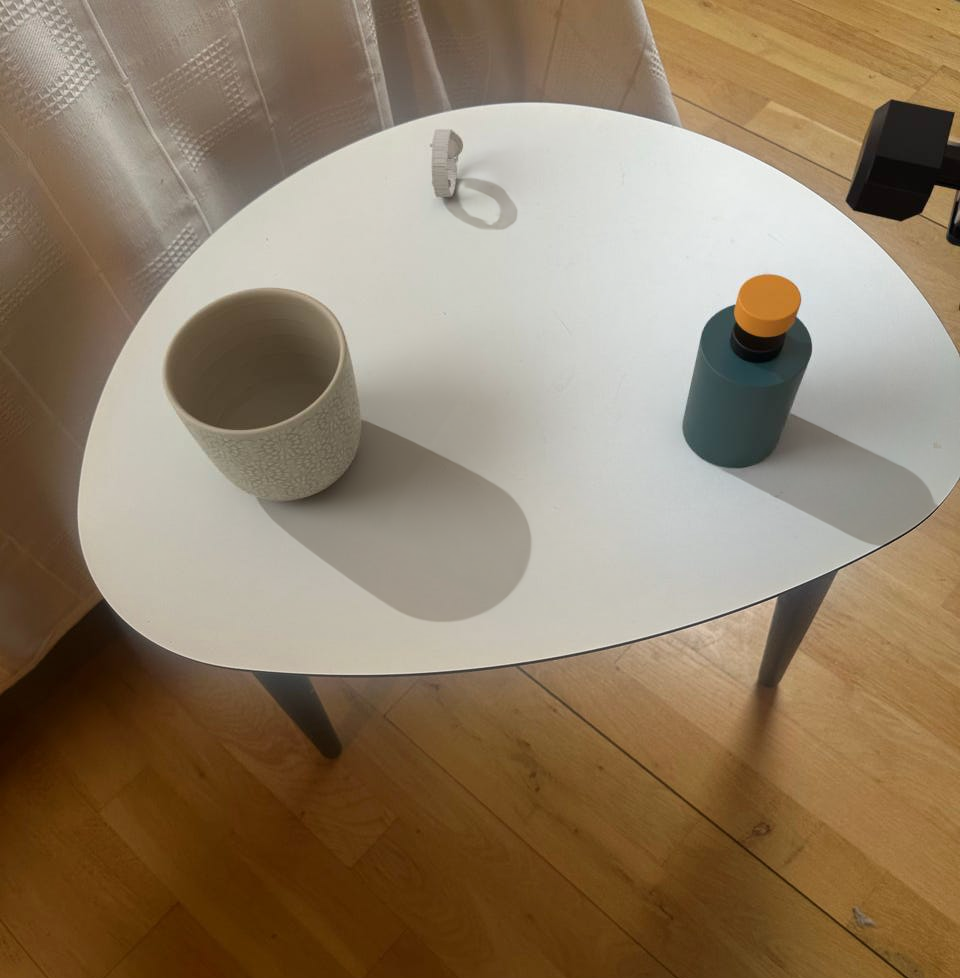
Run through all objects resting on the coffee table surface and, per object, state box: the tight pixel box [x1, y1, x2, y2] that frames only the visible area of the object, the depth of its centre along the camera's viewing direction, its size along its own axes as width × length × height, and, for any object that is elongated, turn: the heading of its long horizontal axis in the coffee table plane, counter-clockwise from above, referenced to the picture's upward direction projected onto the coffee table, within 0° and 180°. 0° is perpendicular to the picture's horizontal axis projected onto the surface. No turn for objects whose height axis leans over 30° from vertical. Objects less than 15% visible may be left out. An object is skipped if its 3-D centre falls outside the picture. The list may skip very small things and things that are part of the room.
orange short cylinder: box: [734, 273, 802, 337], centre depth 56 cm, size 4×4×2 cm
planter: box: [161, 287, 362, 502], centre depth 64 cm, size 12×12×11 cm
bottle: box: [681, 303, 813, 469], centre depth 63 cm, size 7×7×10 cm
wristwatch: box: [429, 128, 464, 198], centre depth 78 cm, size 3×5×5 cm, turn 173°
